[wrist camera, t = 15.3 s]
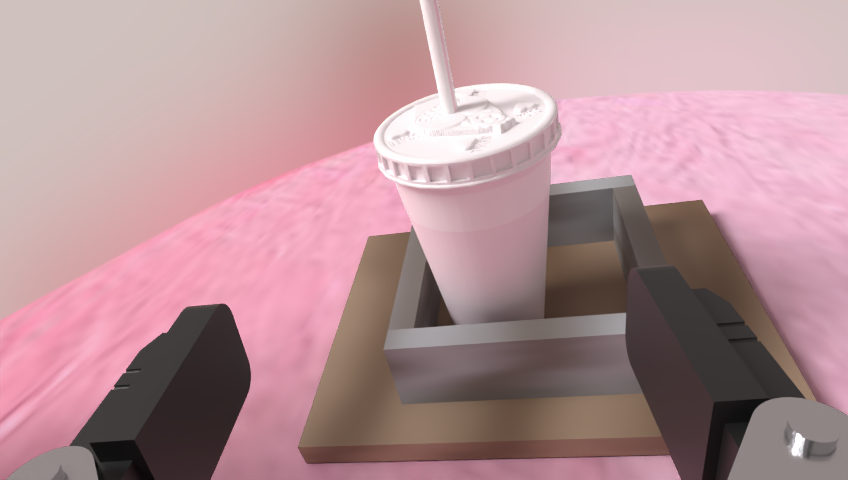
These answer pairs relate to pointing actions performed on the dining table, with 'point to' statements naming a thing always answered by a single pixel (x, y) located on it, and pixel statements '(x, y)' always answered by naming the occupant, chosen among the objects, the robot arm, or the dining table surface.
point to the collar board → (518, 343)
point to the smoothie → (476, 187)
